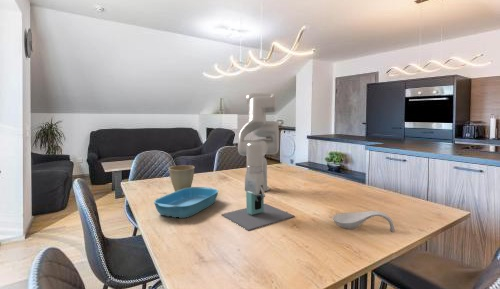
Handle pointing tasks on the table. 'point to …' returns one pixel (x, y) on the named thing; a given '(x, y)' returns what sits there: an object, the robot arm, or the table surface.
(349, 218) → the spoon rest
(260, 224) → the mat
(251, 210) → the teal rectangular block
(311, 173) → the table surface
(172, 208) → the casserole dish
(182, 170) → the plant pot
